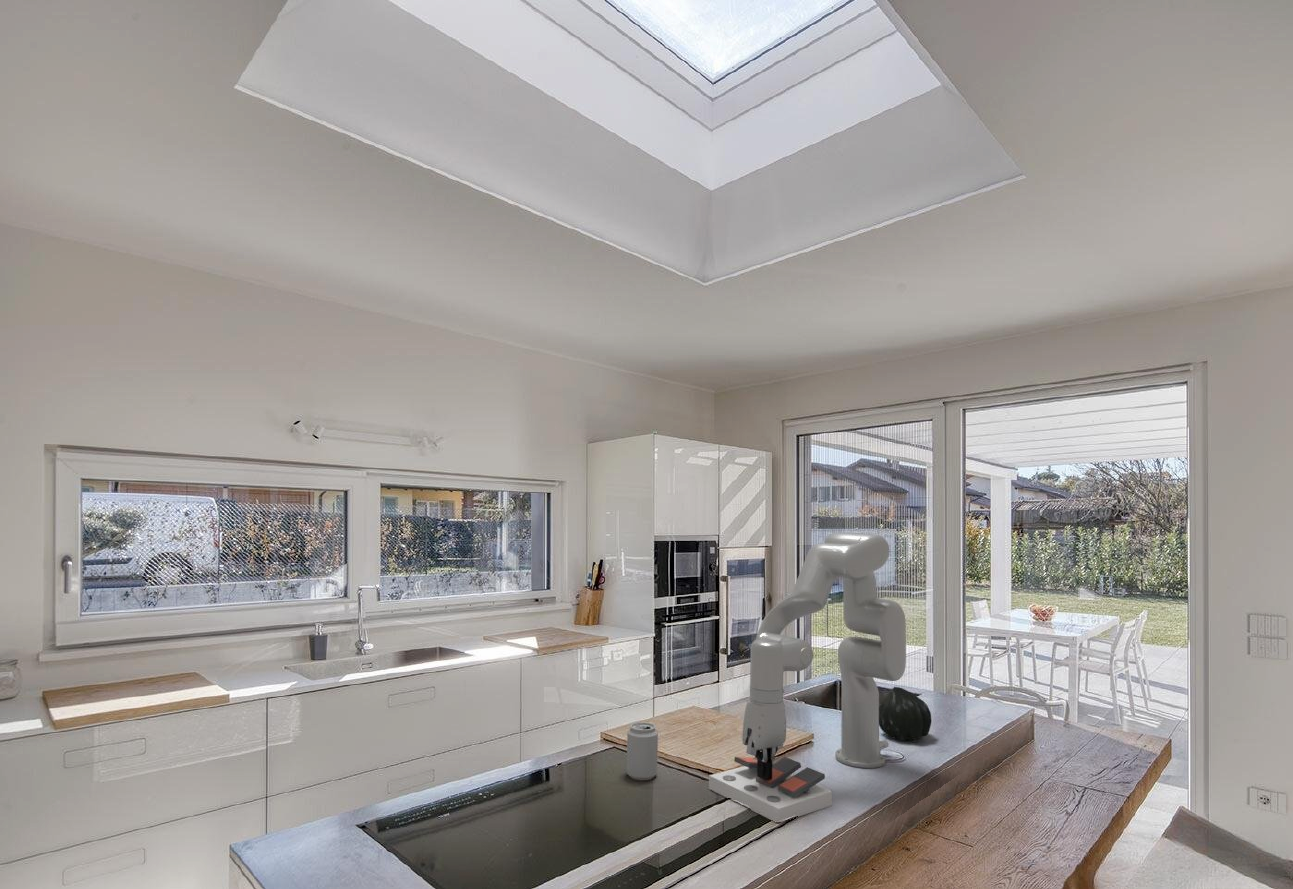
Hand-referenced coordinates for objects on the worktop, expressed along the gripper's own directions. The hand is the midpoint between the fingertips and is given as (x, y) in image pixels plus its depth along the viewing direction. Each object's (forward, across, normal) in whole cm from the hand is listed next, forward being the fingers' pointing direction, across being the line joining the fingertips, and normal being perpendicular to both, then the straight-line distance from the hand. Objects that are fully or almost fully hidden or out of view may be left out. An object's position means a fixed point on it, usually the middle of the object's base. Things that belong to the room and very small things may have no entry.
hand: (764, 777), depth 166 cm
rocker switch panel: (+4, -2, 0) cm, 5 cm away
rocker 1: (0, -4, -7) cm, 8 cm away
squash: (+4, -67, -9) cm, 67 cm away
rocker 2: (0, -4, +7) cm, 8 cm away
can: (+5, +15, -26) cm, 31 cm away
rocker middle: (0, -4, 0) cm, 5 cm away
